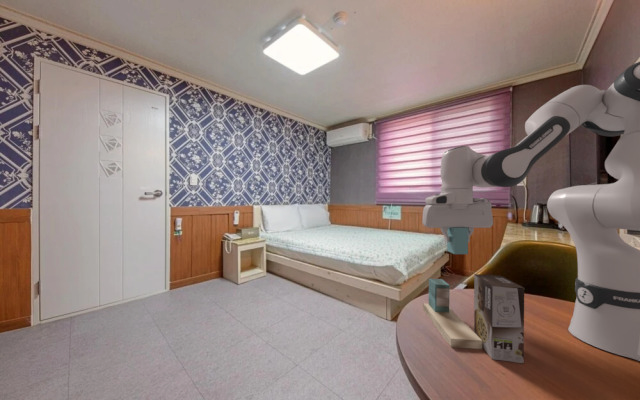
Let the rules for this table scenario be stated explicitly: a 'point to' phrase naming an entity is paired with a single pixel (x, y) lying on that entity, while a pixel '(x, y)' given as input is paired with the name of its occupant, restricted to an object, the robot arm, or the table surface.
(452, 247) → the teal block white top
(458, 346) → the rail
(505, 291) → the coffee box
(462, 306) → the table surface
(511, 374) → the table surface
